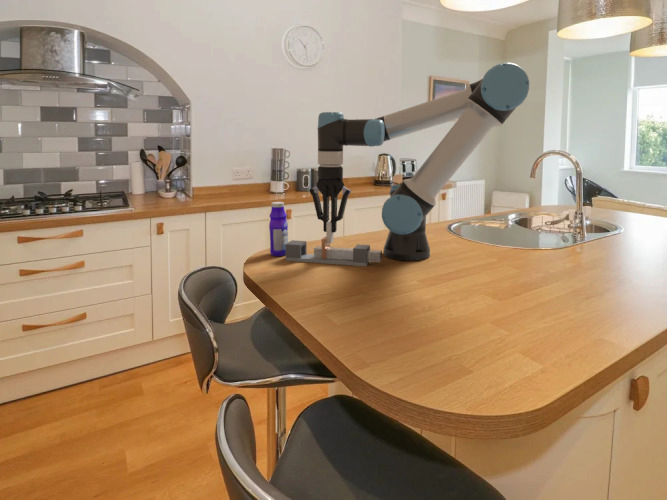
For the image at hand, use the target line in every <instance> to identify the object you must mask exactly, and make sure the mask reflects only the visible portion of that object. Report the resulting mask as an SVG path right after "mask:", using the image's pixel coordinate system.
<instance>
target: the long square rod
mask: <svg viewBox="0 0 667 500" xmlns="http://www.w3.org/2000/svg"><path fill="white" fill-rule="evenodd" d="M313 254H314V258H322V259H340V260H353V248H351V247H349V248H348V247H332V246H331V243H326V236H324V237H322V239H321V245H319V246H318V245H317V246H314V248H313ZM382 259H383V251H382V250H380V249H370V250H367V261H369V263H372V262H373V263H381V262H382Z"/></svg>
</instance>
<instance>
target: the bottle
mask: <svg viewBox="0 0 667 500" xmlns="http://www.w3.org/2000/svg"><path fill="white" fill-rule="evenodd" d="M270 205H271V210H270V214H269V218H270V220H269V223H268V224H269V226H268V228H269V229H268V230H269V251H270V255H271V256H272V257H282V256H286V251H285V244H286V243H288V242H289V232H288V231H289V230H288V229H289V227H288V226H289V225H288V220H287V216H288V215H287V213H286V211H285V202H283V201H273V202H271V204H270Z"/></svg>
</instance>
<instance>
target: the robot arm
mask: <svg viewBox="0 0 667 500" xmlns="http://www.w3.org/2000/svg"><path fill="white" fill-rule="evenodd" d="M529 91H530V79H529V75H528V74H527V72H526V71H525V70H524V69H523V67H521V66H520V65H519V64H516V63H512V62H501V63H497V64H496V65H494V66H492V67H491V68H489V69H488V70H487V71H486V72H485V74H484V75H483V78H480V80H476V81H474V82H472V83H469V84H468V85H467V86H466V87H465V89H461V90H459V91H456V92H453V93H450V94H447V95H444V96H441V97H438V98H435V99H432V100H428V101H426V102H423V103H420V104H416V105H413V106H410V107H408V108H404V109H402V110H398V111H395V112H392V113H389V114H386V115H383V116H379V117H376V118H368V119H366V118H365V119H364V118H361V119H346V118H345V116H344V113H343V112H342V111H341V112H339V111H336V112H335V111H323V112H321V113H319V115H318V118H317V119H318V121H317V164H318V165H319V166H318V167H317V182H316V185H315V186H313V187H311V188H309V193H310V195H311V196H312V200H313V204H314V208H315V209H314V210H315V212H316V217H317V220H319V221H322V222H323V232H324V233H326V235H325V237H326V243H330V244H332V243H333V242H334V233H336V232H337V225H338V224H337V222H339V221H340V222H341V220H343V218H344V214H345V210H346V205H347V202H348V199H349V198H348V197H349V196H350V194H351V193H352V189H351V188H349V189H348V187H346V185H345V184H344V181H343V180H344V179H343V178H344V177H343V175H344V174H343V173H344V168H343V166H342V165H343V164H344V146H351V147H352V146H354V147H357V146H358V147H371V148H372V147H381V146H382V145H383V144H384V142H388V141H390V140H393V139H396V138H400V137H403V136H406V135H409V134H413V133H415V132H419V131H423V130H426V129H429V128H432V127H435V126H438V125H442V124H445V123H449V122H451V121H455V120H456V122H455V123H454V124H453V125H452V127H451V128H450V129H449V130H448V132H447V133H446V134H445V136H444V137H443V138H442V140H441V141H440V142H439V143H438V145H436V147H435V149H433V150H432V152H431V154H430V155H429V156H428V157H427V159H425V161H424V162H423V163H422V164H421V166H420V168H418V170H417V171H416V172H415V173H414V175H413V176H412V177H411V178H408V179H403V180H402V181H401V183H400V184H393V185H392V186H391V187H390V189H389V190H390V192H389V198H388V199H386V200H385V202H384V203H383V205H382V208H381V219H382V222H383V225H384V226H385V227H386V228H387V229H388V235H387V238H386V241H385V243H384V246H383V256H384V257H385V258H388V259H392V260H399V261H421V260H426V259H428V258H430V257H431V247H430V245H429V240H428V237H427V233H426V225H427V215H428V214H429V213H430V212H431V211H432V210H433V208H434V207H435V206H436V204H437V203H436V196H437V195H438V194H439V193H440V191H441V190H442V189H443V188H444V187H445V185H446V184H447V183H448V182H449V181H450V180H451V178H452V177H453V176H454V174H455V173H456V172H457V171H458V169H460V167H461V166H462V165H463V163H465V161H466V160H467V159H468V158H469V156H470V155H471V154H472V153H473V152H474V151H475V149H476V148H477V147H478V146H479V144H480V143H481V142H482V140H483V139H484V138H485V137H486V136H487V135H488V133H489V132H490V131H491V130H492V128H494V127H501V126H502V125H503V124H504V123H505V121H506V120H507V119H508V118H509V117H510V116H511V114H512V113H513V112H514V111H515V110H516V108H517V107H519V106H521V104H522V103H524V101H525V100H526V99H527V97H528V94H529ZM319 192H320V193H321V195H322V203H321V200H320V195H319ZM340 193H342V194H341V195H342V196H341V200H340V204H339V209H338V198H339V197H338V195H340ZM330 203H331V204H330ZM321 204H322V205H321ZM330 213H331V215H330Z"/></svg>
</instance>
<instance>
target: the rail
mask: <svg viewBox="0 0 667 500" xmlns="http://www.w3.org/2000/svg"><path fill="white" fill-rule="evenodd" d="M307 248H308V247H307V240H296V239H295V240H293V239H291V240H290V241H288V243H286V244H285V251H286V254H285V261H287V262H299V263H301V262H302V263H315V264H326V265H327V264H328V265H343V266H355V267H367V265H368V264H369V263H370V262H369V261H367V250H371V245H370V244H360V243H359V244H358V243H357V244H356V245H355V246H354V247H353V248H352V249H353V260H340V259H322V258H314V253H313V254H312V253H307V251H308V250H307Z"/></svg>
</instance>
